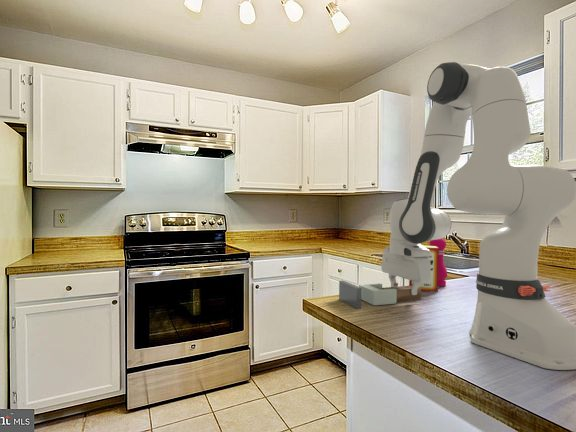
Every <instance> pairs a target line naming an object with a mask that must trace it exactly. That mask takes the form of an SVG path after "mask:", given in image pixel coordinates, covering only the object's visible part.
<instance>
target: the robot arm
mask: <svg viewBox="0 0 576 432" xmlns="http://www.w3.org/2000/svg"><path fill="white" fill-rule="evenodd" d="M426 91H427V95H428V98H429V99H430V100H431V101H432V102H434V104H433V105H432V107H431V108H430V111H429V114H428V117H427V121H426V124H425V125H426V126H425V130H424V135H423V142H422V148H421V152H420V156H419V158H418V161H417V164H416V167H415V169H414V174H413V177H412V183H411V187H410V191H409V195H408V196H409V197H408V198H407V197H406V198H399V199H396V200H395V201H394V202H393V203H392V205H391V209H390V217H389V227H390V232H391V233H390V237H389V245H386V247H385V248H384V249H383V253H382V259H381V272H382V273H385V274H387V275H388V279H389V281H390V287H399V283H398V282H397V280H396V279H397V277H398V278H402V279H405V280H408V281H409V280H412V284H413V285H412V288H410V289H409V291H410V292H409V293H410V294H411V295H417V289H418V287H419V286H420V283H424V282H428V281H429V280H430V272H431V269H430V260H429V258H427V257H429V256H430V250H429V249H427V248H425V247H424V246H425V245H423V244H422V243H426V242H430V241H432V240H437V239H441V238H442V239H444V238H445V237H446V236H448V235H449V233H450V231H451V229H452V220H451V217H450V216H449V214H448V213H447V212H445V211H444V210H441V209H438V208H436V207H432V204H433V199H434V194H435V190H436V186H437V182H438V180H439V178H440V176H441V175H442V174H443V172H445V171H446V170H447V169H450V168H451V167H453V166H454V165H455V164H457V163H458V161H459V160H460V158H461V155H462V153H463V148H464V143H465V137H466V128H467V123H468V120H469V118H470V117H471V116H472V117H471V119H472V126H473V127H472V128H473V148H472V152H471V155H470V157H469V158H468V160H467V161H466V162H465V163H464V164H463V165H462V166H461V167H460V168H458V169H457V170H456V171H455V172H454V173H453V174H452V176H451V177H450V179H449V180H448V184H447V187H446V193H447V198H448V200H449V202H450V204H451V205H452V207H453V208H454V209H455V210H457V211H461V212H465V213H469V214H475V215H504V220H503V222H502V224H501V225H500V226H499V228H498V229H496V230H494V231H491V232H489V233H488V234H486V235H485V236H484V237H483V238H482V239H481V241H480V242H479V249H478V251H479V252H478V253H479V255H478V257H479V258H478V273H477V274H476V280H475V283H476V287H475V288H476V289H477V299H476V304H475V305H476V307H475V311H474V316H473V322H472V325H471V328H470V330H469V335H470V342H471V343H472V344H475V345H477V346H481V347H483V348H487V349H489V350H491V351H494V352H498V353H500V354H503V355H506V356H508V357H512V358H515V359H517V360H520V361H524V362H526V363H529V364H531V365H535V366H537V367H540V368H543V369H547V370H548V369H549V370H554V371H555V370H556V371H557V370H559V371H567V370H568V371H569V370H570V371H571V370H576V325H575V323H573V322H572V321H571V320H569V319H568V318H567V317H566V316H565V315H564V314H563V313H562V312H560V311H559V310H558V309H557V308H556V307H555V306H554V305H553V304H552V303H551V302H550V301H549V300H547V298H546V294H545V292H550V291H551V289H549V288H551V285H542V283H541V281H540V279H539V278H538V264H539V263H538V262H539V253H540V252H539V251H540V246H541V241H542V238H543V236H544V234H545V231H547V228H548V227H549V225H550V224H551V222H552V221H554V219H555V218H556V217H557V216H559V215H560V214H561V213H563V212H564V211H566V210H567V209H569V207H571V205H572V204H573V202H574V200H575V199H576V180H575V177H574V176H573V175H572V173H571V172H570V171H568V170H566V169H562V168H558V167H554V166H548V165H539V164H538V165H536V164H535V165H524V164H522V165H518V164H517V165H516V164H515V165H514V164H510V161H509V155H512V154H514V153H515V152H517V151H519V150H520V149H522V148H523V147H524V146H525V145H526V144H527V143H528V141H529V140H530V137H531V131H532V130H531V125H530V120H529V115H528V114H529V113H528V107H527V102H526V101H527V100H526V96H525V92H524V90H523V86H522V83H521V81H520V79H519V77H518V74H517V73H516V71H515V70H514V69H513V68H510V67H507V66H495V67H492V68H489V67H488V68H487V67H484V66H480V65H477V64H470V63H469V64H468V63H458V62H455V61H448V62H444V63H440V64H439V65H437V66H436V67H435V68H434V69H433V71H432V72H431V74H430V76H429V78H428V80H427V87H426ZM422 245H423V246H422Z"/></svg>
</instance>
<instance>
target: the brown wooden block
mask: <svg viewBox="0 0 576 432" xmlns="http://www.w3.org/2000/svg"><path fill="white" fill-rule="evenodd" d="M410 288H412V286H409V285H400V286H399V285H398V287H391V286H389V287H387V286H385V287H382V289H397V300H396V303H399V302H409V301H410V300H411V301H418V299H421V300H422V291H421V288H419V287H418V289H417V295H411V294H410V293H409V292H410V291H409V289H410Z"/></svg>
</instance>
